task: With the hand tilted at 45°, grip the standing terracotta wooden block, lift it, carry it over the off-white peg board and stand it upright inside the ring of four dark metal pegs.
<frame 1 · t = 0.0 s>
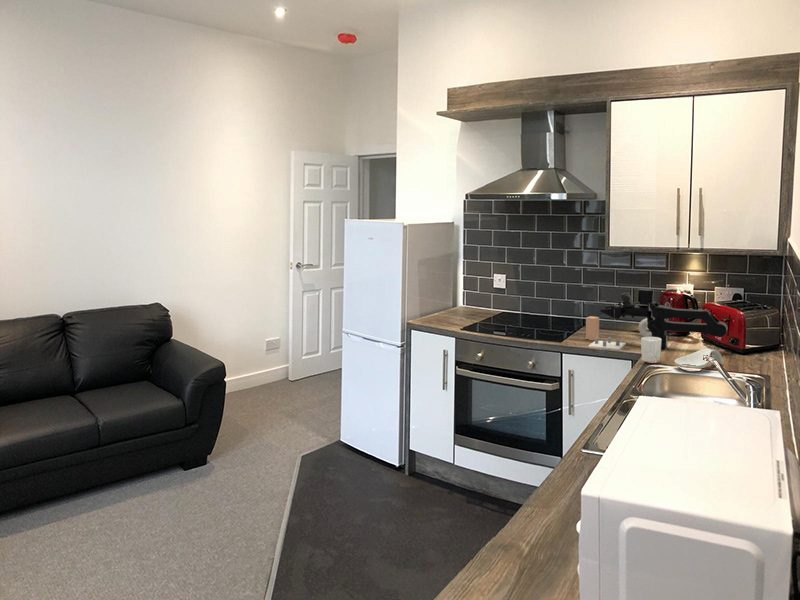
hand: (602, 309, 295), 17 cm above the worktop, tool horizontal, fingers open, 9 cm apart
peg board: (607, 345, 291), on the worktop
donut: (649, 338, 307), on the worktop
spoon rest: (699, 368, 248), on the worktop
white cup: (650, 362, 259), on the worktop
terracotta block: (592, 339, 307), on the worktop
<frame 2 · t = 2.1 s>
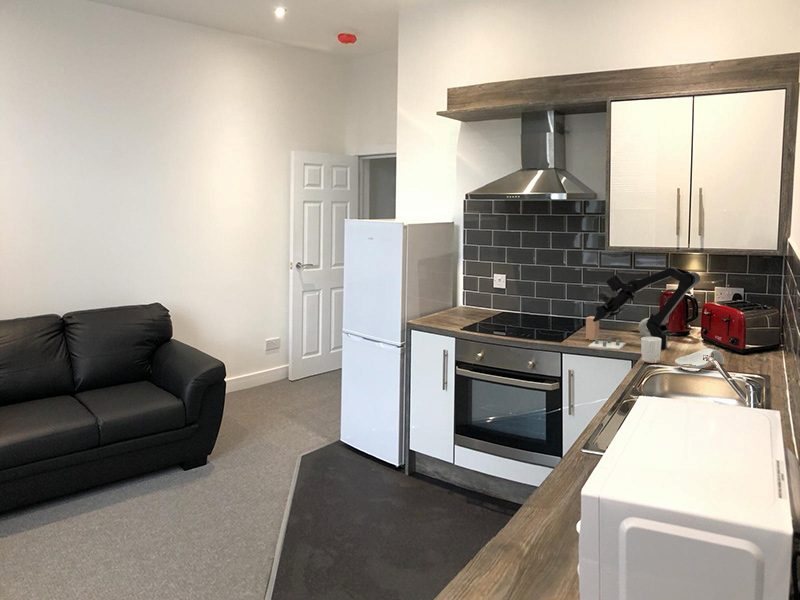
hand: (598, 319, 304), 10 cm above the worktop, tool tilted 45°, fingers open, 9 cm apart
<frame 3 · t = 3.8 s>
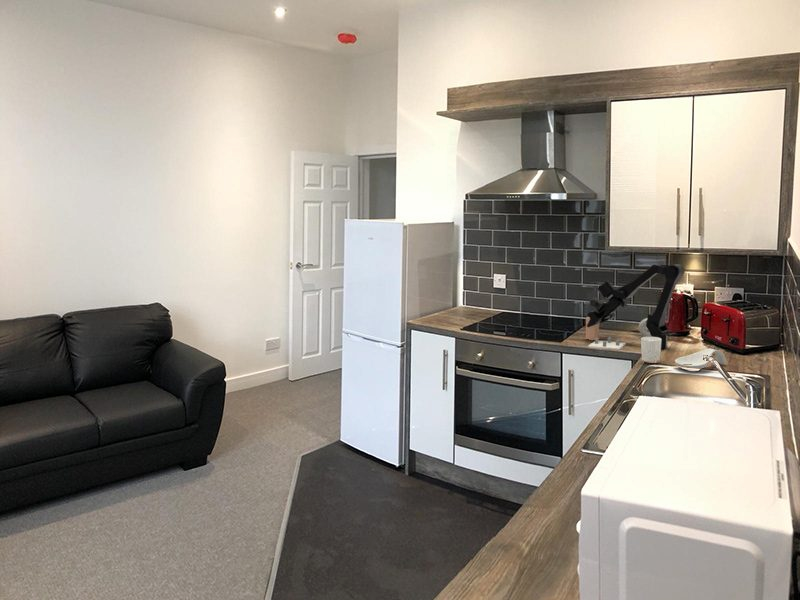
hand: (589, 325, 307), 7 cm above the worktop, tool tilted 45°, fingers closed on terracotta block, 5 cm apart
terracotta block: (592, 339, 307), on the worktop, touching gripper
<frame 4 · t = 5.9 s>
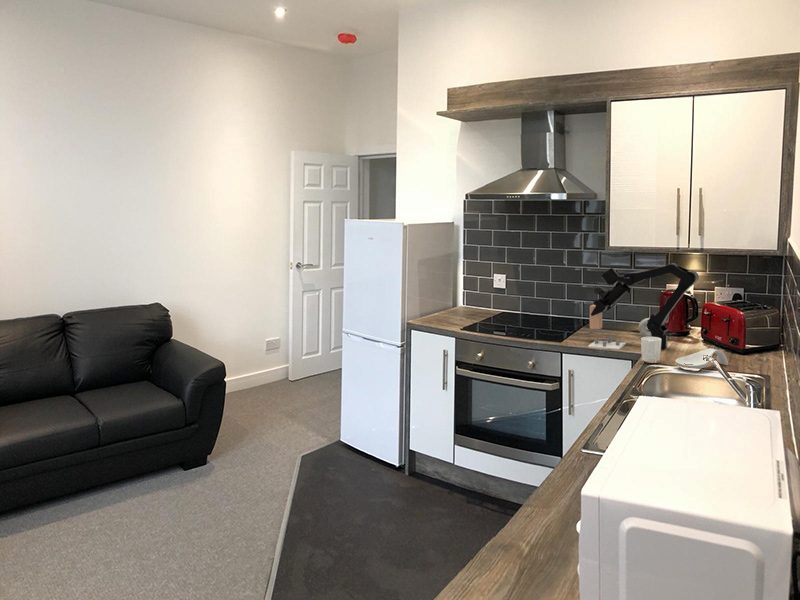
hand: (593, 314, 300), 13 cm above the worktop, tool tilted 45°, fingers closed on terracotta block, 5 cm apart
terracotta block: (595, 328, 300), point 7 cm above the worktop, touching gripper
when the fingers open (9 cm above the worktop, at t = 8.2 s): terracotta block drops 1 cm, resting on peg board.
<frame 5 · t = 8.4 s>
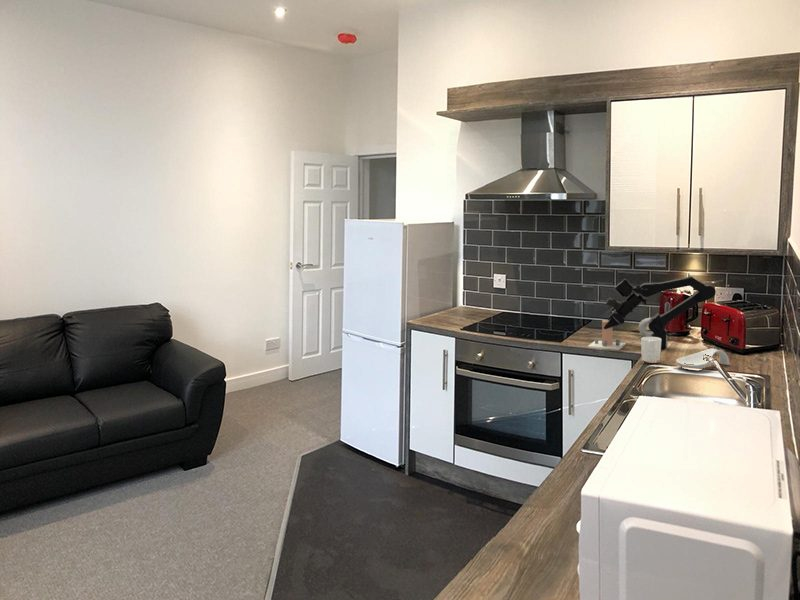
hand: (604, 327, 291), 9 cm above the worktop, tool tilted 45°, fingers open, 7 cm apart
terracotta block: (607, 344, 291), point 1 cm above the worktop, touching peg board
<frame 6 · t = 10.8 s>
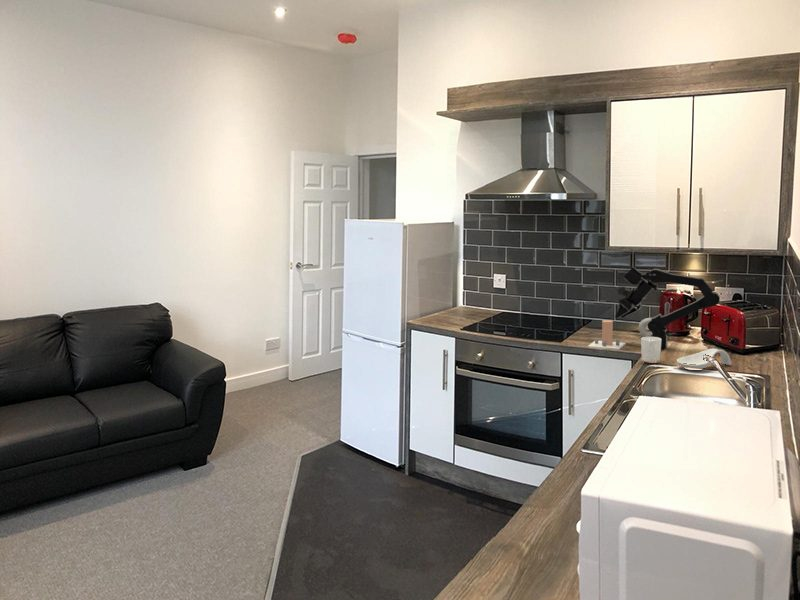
hand: (618, 317, 290), 13 cm above the worktop, tool tilted 35°, fingers open, 9 cm apart
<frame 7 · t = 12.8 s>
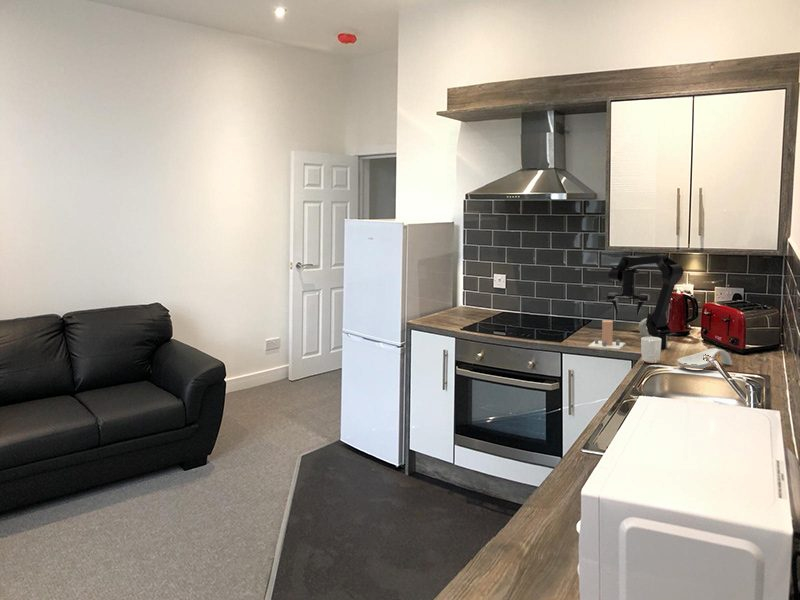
hand: (627, 314, 299), 13 cm above the worktop, tool pointing down, fingers open, 9 cm apart
at the end: terracotta block 0.0 cm off-centre on the peg board, point 0.8 cm above the peg board's base; terracotta block tilted 0°; the gripper is holding nothing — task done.
